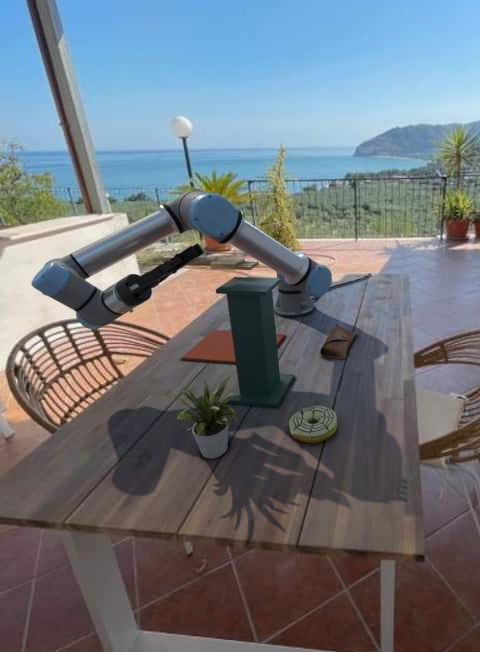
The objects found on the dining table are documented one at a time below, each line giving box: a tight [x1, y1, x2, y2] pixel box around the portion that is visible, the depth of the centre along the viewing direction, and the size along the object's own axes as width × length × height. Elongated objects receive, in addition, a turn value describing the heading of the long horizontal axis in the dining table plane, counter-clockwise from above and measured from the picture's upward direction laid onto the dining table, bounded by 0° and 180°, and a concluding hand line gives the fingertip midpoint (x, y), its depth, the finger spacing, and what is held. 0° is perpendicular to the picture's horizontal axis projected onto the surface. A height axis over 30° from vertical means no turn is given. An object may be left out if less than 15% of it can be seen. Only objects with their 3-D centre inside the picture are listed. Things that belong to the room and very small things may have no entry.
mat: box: [181, 329, 286, 365], centre depth 125 cm, size 20×26×1 cm
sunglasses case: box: [319, 323, 359, 360], centre depth 126 cm, size 18×7×7 cm, turn 169°
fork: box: [162, 255, 260, 271], centre depth 92 cm, size 6×23×2 cm, turn 82°
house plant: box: [161, 375, 238, 459], centre depth 78 cm, size 14×14×16 cm
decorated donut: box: [288, 405, 338, 444], centre depth 87 cm, size 10×11×4 cm
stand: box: [215, 276, 295, 408], centre depth 98 cm, size 14×14×30 cm
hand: (197, 249), depth 91 cm, fingers closed on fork, 2 cm apart
